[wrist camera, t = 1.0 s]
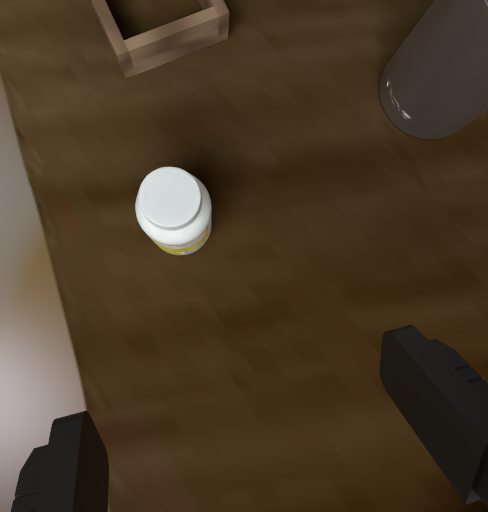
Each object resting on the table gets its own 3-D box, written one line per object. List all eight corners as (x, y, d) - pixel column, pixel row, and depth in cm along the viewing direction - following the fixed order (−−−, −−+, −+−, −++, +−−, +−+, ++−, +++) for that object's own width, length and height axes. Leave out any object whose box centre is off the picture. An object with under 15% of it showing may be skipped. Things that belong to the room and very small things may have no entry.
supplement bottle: (201, 263, 35) (197, 249, 26) (141, 244, 35) (114, 224, 26) (219, 204, 36) (222, 170, 27) (160, 186, 36) (142, 145, 26)
